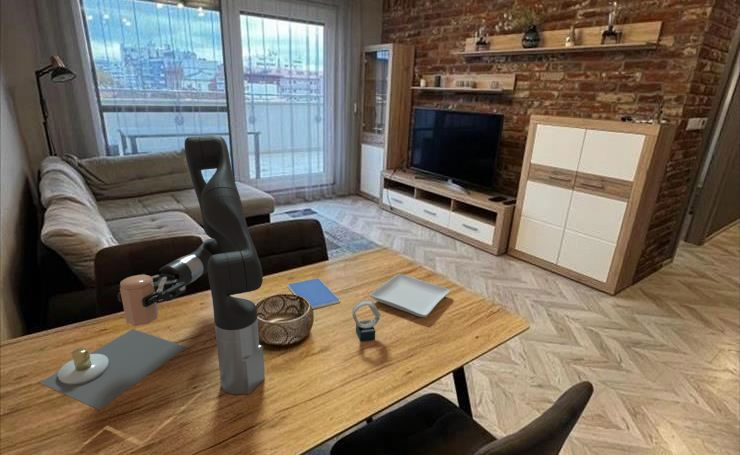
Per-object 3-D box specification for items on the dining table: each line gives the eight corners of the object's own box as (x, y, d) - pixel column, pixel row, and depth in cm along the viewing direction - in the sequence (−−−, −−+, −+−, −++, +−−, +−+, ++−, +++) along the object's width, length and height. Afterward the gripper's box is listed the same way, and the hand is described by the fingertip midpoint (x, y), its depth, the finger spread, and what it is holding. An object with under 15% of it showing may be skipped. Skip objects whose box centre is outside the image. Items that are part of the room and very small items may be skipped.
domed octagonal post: (163, 314, 100) (158, 278, 96) (140, 328, 94) (133, 289, 90) (144, 308, 102) (138, 272, 99) (120, 321, 96) (113, 283, 93)
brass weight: (94, 364, 96) (91, 349, 95) (81, 372, 93) (77, 357, 92) (85, 361, 97) (82, 346, 96) (72, 369, 94) (68, 353, 93)
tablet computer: (286, 286, 142) (286, 283, 141) (318, 280, 148) (318, 276, 147) (306, 312, 126) (305, 309, 126) (341, 303, 132) (341, 300, 132)
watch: (381, 339, 113) (383, 305, 110) (354, 342, 111) (355, 308, 108) (376, 328, 118) (377, 295, 115) (349, 331, 116) (350, 298, 113)
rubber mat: (187, 348, 106) (186, 347, 106) (99, 412, 85) (99, 409, 84) (133, 330, 112) (132, 328, 112) (39, 384, 91) (39, 382, 91)
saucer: (118, 363, 98) (117, 360, 98) (77, 389, 90) (76, 386, 89) (90, 353, 102) (90, 349, 101) (48, 377, 93) (47, 373, 93)
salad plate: (450, 297, 139) (451, 288, 138) (425, 324, 122) (426, 314, 121) (398, 280, 150) (398, 272, 148) (367, 303, 132) (368, 294, 131)
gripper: (158, 255, 109) (104, 281, 94) (202, 263, 106) (153, 292, 91) (162, 280, 112) (110, 309, 97) (205, 288, 108) (157, 320, 93)
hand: (131, 300), depth 94 cm, fingers closed on domed octagonal post, 7 cm apart
